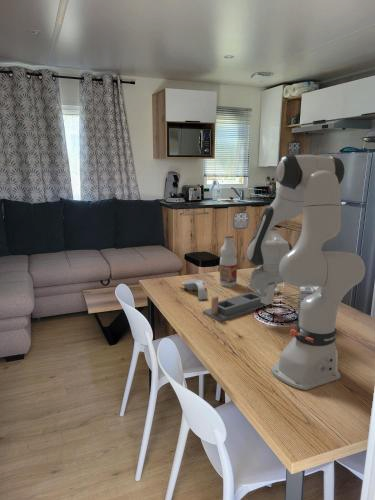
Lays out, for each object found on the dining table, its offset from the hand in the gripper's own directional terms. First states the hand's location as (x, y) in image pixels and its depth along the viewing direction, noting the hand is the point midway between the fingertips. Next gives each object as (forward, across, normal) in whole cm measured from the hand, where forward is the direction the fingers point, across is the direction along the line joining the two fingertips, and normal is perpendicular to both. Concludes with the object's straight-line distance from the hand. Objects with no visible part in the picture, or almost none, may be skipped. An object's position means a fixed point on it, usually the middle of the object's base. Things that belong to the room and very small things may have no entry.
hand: (267, 295), depth 163 cm
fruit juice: (+8, +13, +40) cm, 43 cm away
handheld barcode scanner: (+9, -9, +41) cm, 43 cm away
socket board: (+8, -7, +11) cm, 16 cm away
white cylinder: (+4, 0, 0) cm, 4 cm away
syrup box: (+9, +6, -16) cm, 19 cm away
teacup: (+8, +23, +20) cm, 31 cm away
